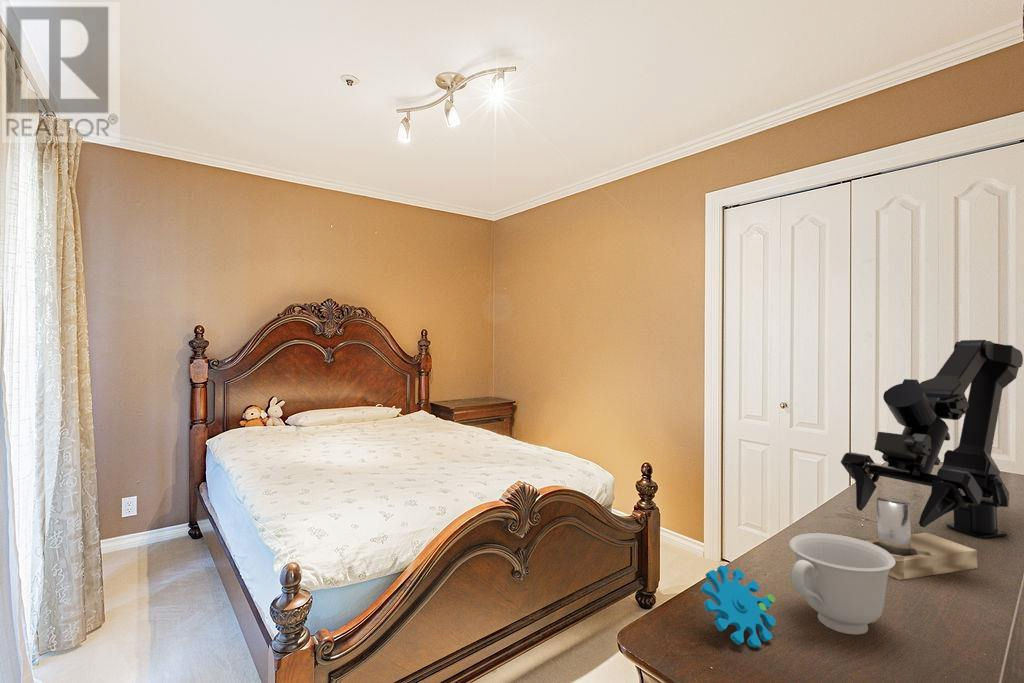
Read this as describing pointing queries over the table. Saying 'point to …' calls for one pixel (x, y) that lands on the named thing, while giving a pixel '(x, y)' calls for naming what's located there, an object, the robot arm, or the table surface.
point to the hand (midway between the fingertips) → (888, 517)
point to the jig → (931, 557)
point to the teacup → (841, 579)
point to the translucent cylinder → (894, 525)
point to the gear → (738, 606)
